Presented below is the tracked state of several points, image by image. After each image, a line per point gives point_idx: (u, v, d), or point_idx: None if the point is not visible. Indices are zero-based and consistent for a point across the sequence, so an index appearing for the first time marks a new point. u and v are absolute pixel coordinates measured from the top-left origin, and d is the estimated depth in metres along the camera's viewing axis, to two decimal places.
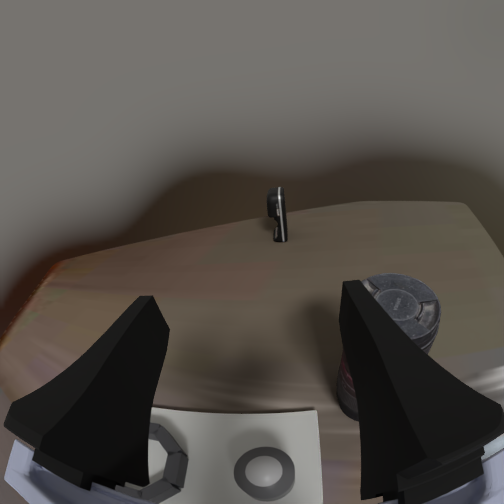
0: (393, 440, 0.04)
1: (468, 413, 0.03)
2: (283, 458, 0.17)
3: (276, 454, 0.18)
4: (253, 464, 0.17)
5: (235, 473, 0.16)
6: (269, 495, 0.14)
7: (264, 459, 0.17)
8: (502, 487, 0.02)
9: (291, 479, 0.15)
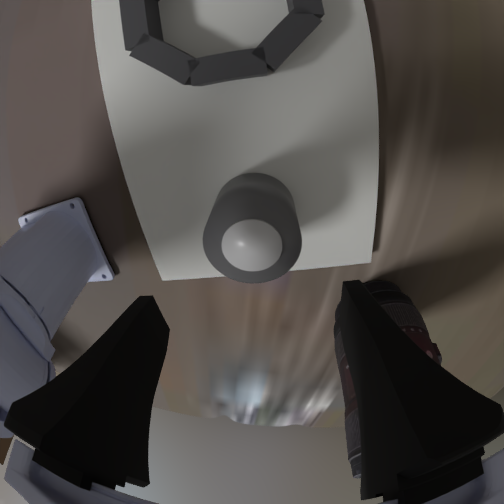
0: (393, 440, 0.04)
1: (468, 413, 0.03)
2: (279, 268, 0.14)
3: (286, 258, 0.14)
4: (262, 227, 0.13)
5: (239, 203, 0.12)
6: (208, 257, 0.14)
7: (275, 245, 0.13)
8: (502, 487, 0.02)
9: (241, 280, 0.15)
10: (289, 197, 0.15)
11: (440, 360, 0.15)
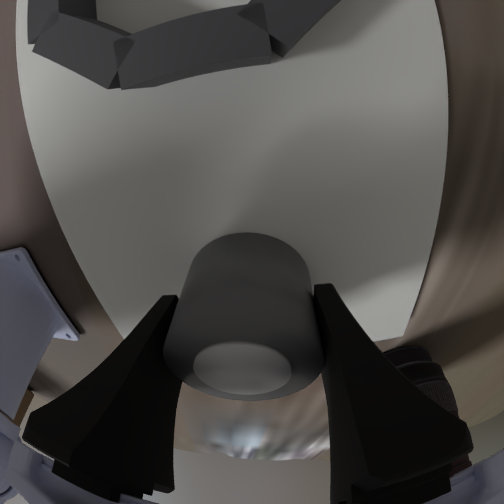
0: (348, 450, 0.04)
1: (426, 430, 0.03)
2: (284, 389, 0.09)
3: (297, 380, 0.08)
4: (260, 351, 0.07)
5: (216, 320, 0.07)
6: (177, 375, 0.08)
7: (280, 373, 0.08)
8: (502, 487, 0.02)
9: (229, 398, 0.09)
10: (305, 279, 0.09)
11: None
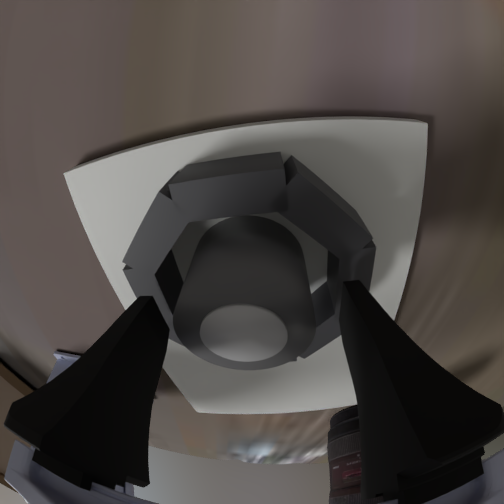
0: (393, 440, 0.04)
1: (468, 413, 0.03)
2: (282, 356, 0.10)
3: (293, 346, 0.09)
4: (259, 314, 0.09)
5: (222, 283, 0.08)
6: (184, 343, 0.10)
7: (278, 337, 0.09)
8: (502, 487, 0.02)
9: (231, 367, 0.10)
10: (298, 255, 0.10)
11: None
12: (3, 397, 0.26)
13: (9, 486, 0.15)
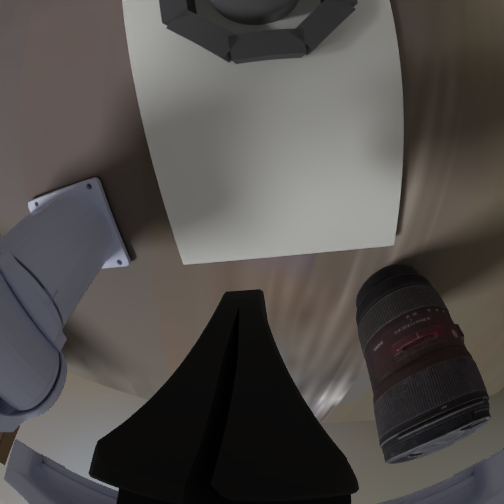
0: None
1: (292, 456, 0.03)
2: None
3: None
4: None
5: None
6: None
7: None
8: (502, 487, 0.02)
9: (235, 2, 0.07)
10: None
11: (463, 341, 0.14)
12: None
13: None
